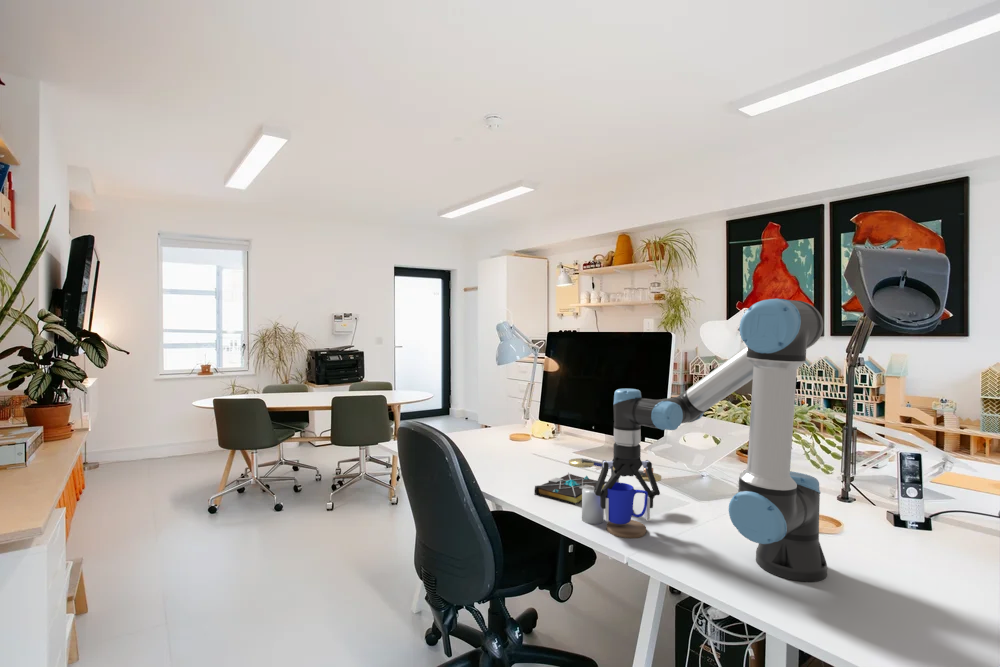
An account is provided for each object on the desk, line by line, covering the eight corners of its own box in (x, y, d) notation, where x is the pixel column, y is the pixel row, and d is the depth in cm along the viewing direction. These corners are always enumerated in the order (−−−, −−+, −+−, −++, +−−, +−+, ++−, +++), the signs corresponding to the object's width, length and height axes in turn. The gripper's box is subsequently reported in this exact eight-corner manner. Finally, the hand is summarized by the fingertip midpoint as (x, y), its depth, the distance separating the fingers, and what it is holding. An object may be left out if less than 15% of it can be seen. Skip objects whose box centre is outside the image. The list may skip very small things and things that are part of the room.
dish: (651, 538, 142) (651, 533, 142) (611, 538, 142) (612, 534, 142) (639, 522, 153) (639, 518, 153) (602, 523, 153) (602, 519, 152)
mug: (648, 528, 142) (648, 492, 142) (604, 525, 144) (604, 490, 144) (646, 518, 150) (646, 483, 150) (604, 514, 152) (604, 481, 152)
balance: (664, 513, 161) (665, 461, 160) (570, 514, 160) (571, 462, 160) (656, 504, 169) (656, 455, 168) (566, 505, 168) (566, 455, 167)
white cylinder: (605, 524, 152) (605, 493, 152) (584, 524, 152) (584, 494, 152) (600, 516, 158) (601, 487, 158) (580, 516, 158) (580, 487, 158)
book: (567, 481, 195) (567, 468, 195) (607, 491, 184) (607, 477, 184) (533, 495, 178) (533, 481, 178) (575, 507, 167) (575, 491, 167)
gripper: (663, 440, 151) (662, 514, 151) (583, 440, 150) (583, 514, 150) (672, 446, 143) (671, 523, 144) (588, 446, 143) (588, 524, 143)
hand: (626, 519), depth 147 cm, fingers closed on mug, 11 cm apart
